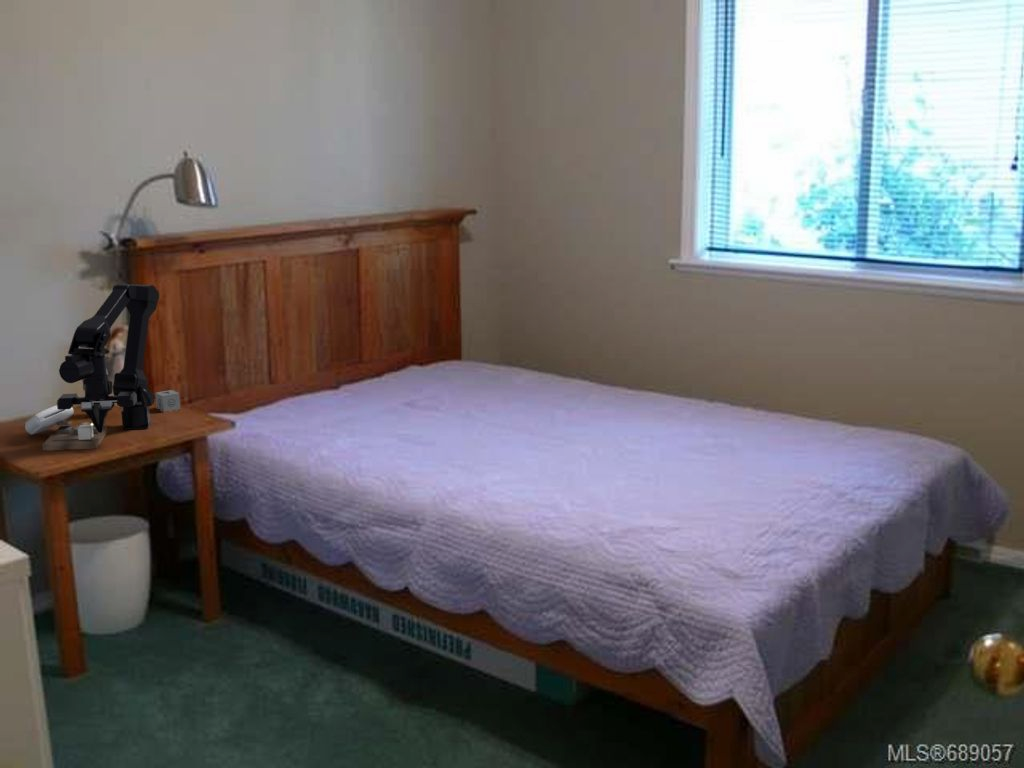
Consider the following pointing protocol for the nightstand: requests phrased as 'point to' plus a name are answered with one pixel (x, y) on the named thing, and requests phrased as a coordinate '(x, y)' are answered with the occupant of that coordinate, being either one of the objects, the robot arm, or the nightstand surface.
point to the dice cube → (167, 400)
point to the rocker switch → (64, 423)
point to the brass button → (88, 424)
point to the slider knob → (85, 432)
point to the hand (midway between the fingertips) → (100, 432)
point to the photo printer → (47, 419)
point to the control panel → (72, 439)
